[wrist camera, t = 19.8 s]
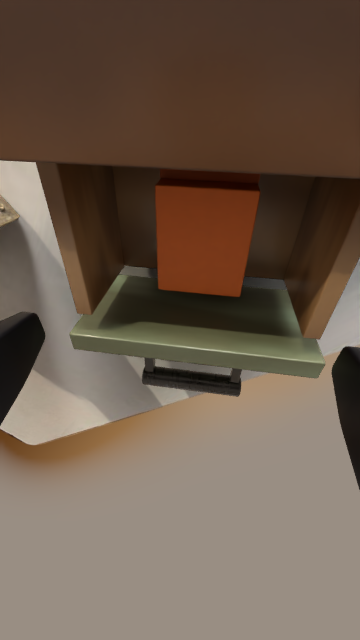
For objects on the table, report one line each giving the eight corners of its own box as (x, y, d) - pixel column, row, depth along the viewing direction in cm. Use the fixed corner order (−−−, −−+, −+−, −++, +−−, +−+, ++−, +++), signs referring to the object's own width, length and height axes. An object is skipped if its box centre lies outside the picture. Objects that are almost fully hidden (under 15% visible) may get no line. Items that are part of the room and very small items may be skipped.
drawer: (274, 355, 22) (289, 431, 17) (121, 338, 24) (90, 403, 18) (404, -9, 10) (605, -144, 5) (67, -5, 11) (-75, -108, 6)
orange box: (259, 158, 13) (266, 169, 11) (237, 282, 17) (238, 309, 15) (165, 154, 13) (152, 163, 11) (166, 276, 18) (157, 301, 15)
